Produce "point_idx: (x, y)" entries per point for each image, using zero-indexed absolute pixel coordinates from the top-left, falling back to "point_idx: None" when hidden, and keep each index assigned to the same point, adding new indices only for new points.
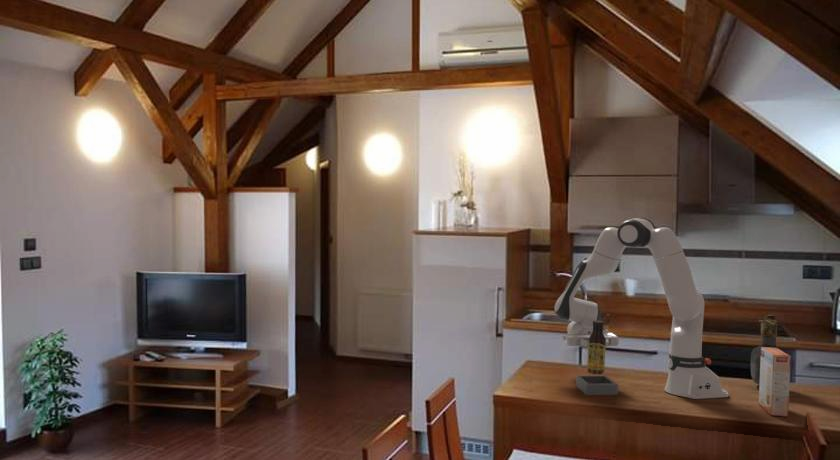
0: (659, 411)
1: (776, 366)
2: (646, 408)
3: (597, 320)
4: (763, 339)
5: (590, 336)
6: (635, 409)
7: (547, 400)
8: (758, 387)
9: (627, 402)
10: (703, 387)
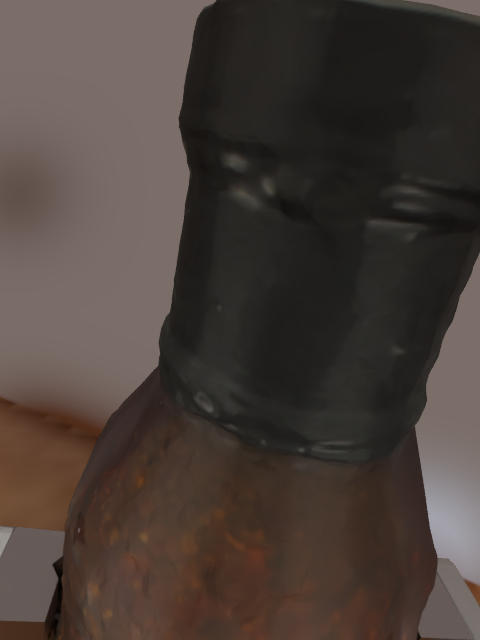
0: (9, 415)
1: None
2: (34, 447)
3: (423, 7)
4: None
5: (422, 531)
6: (95, 444)
7: (475, 593)
8: None
9: (63, 528)
10: None
